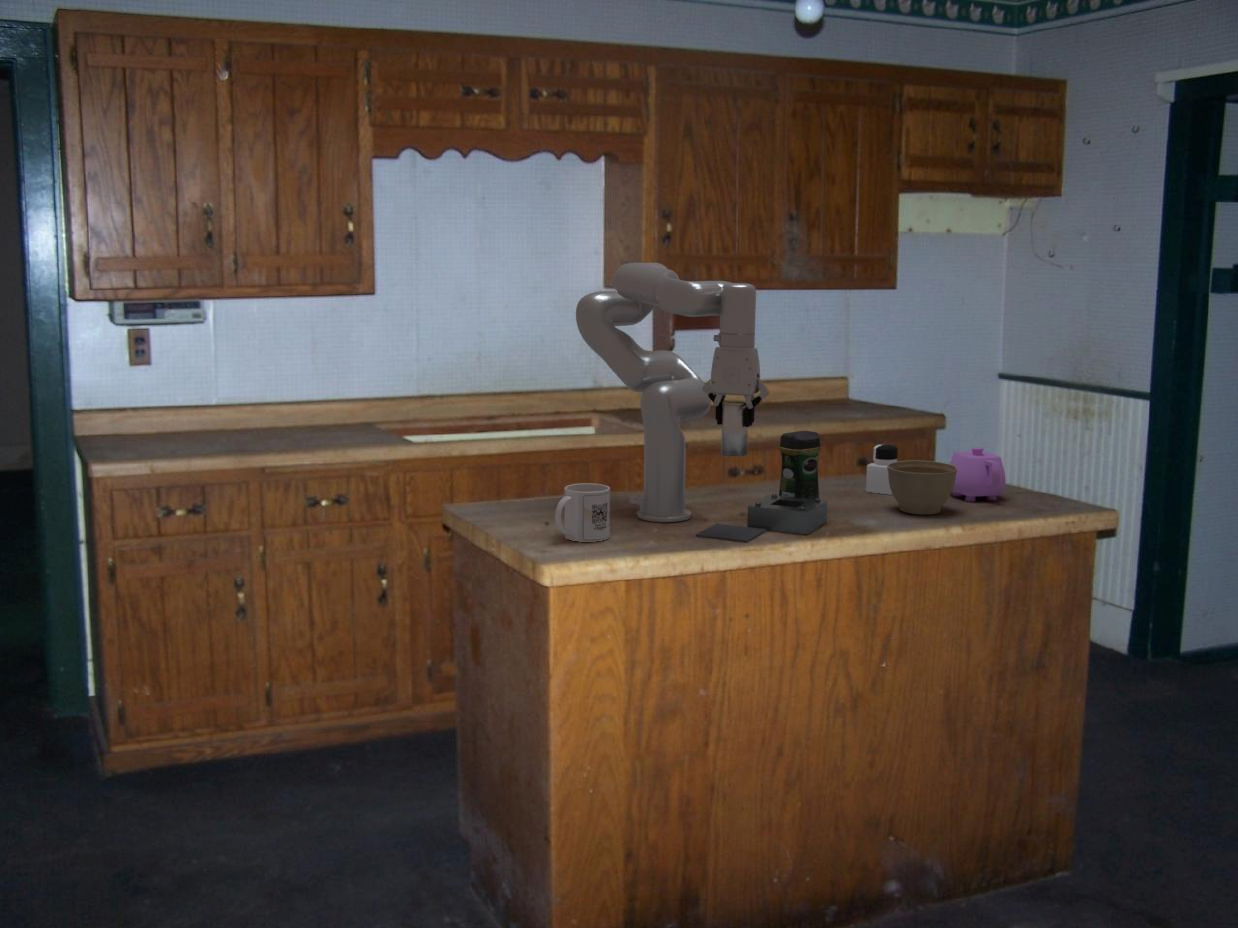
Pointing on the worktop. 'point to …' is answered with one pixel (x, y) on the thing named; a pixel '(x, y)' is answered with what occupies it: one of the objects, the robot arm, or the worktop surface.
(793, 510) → the housing
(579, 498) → the mug
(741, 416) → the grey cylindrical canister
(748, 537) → the rubber mat
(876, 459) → the medicine bottle
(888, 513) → the worktop surface
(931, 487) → the planter bowl
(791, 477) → the coffee jar
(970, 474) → the teapot
